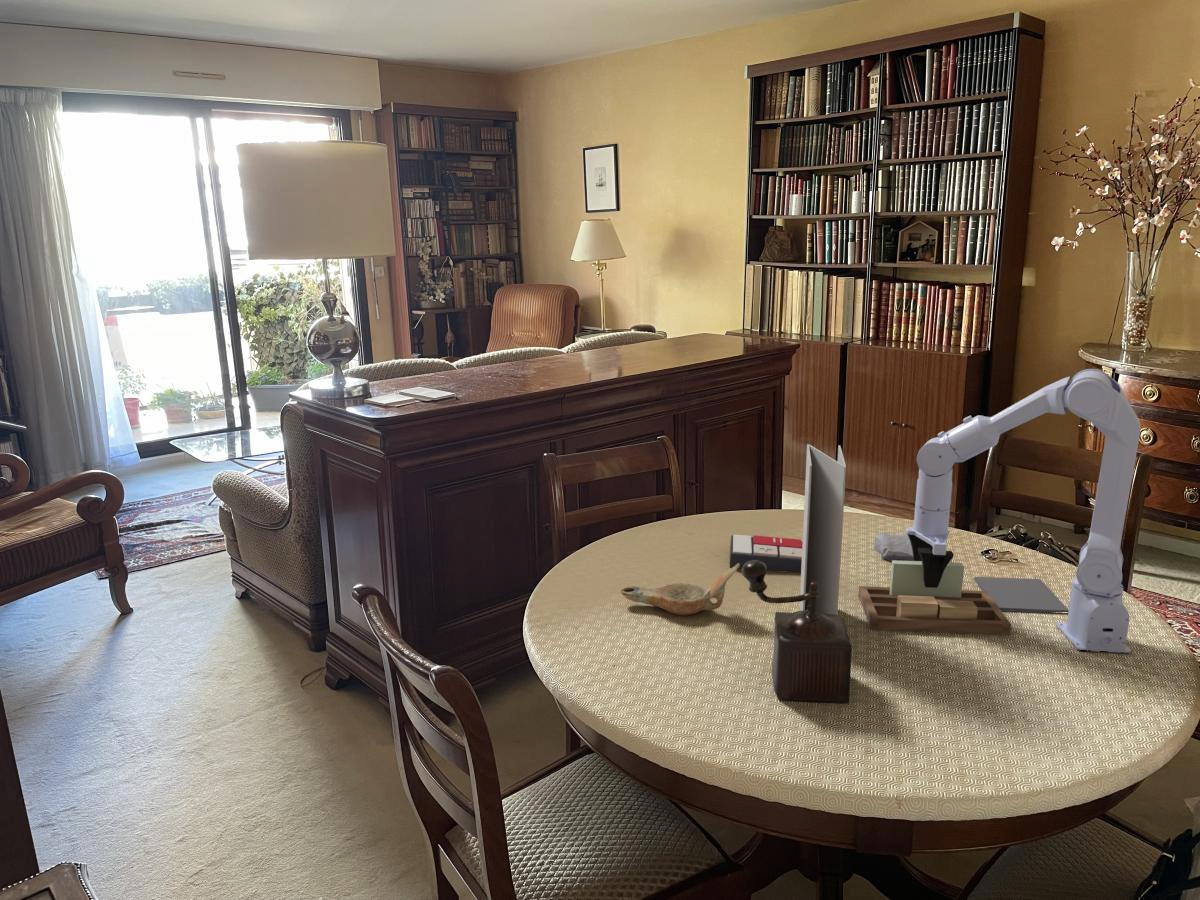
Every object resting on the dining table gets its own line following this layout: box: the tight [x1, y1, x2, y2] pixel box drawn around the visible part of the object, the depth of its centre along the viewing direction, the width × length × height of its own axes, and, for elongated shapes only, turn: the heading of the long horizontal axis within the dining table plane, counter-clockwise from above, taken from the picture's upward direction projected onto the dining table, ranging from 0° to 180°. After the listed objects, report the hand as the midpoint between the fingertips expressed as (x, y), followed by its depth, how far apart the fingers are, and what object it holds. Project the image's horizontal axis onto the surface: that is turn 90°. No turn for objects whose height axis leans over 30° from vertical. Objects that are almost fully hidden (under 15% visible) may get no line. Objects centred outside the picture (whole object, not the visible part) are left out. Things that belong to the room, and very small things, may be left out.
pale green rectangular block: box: [889, 560, 965, 598], centre depth 154 cm, size 2×12×8 cm, turn 82°
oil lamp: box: [620, 563, 740, 616], centre depth 153 cm, size 9×21×10 cm, turn 74°
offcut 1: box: [896, 595, 938, 618], centre depth 147 cm, size 3×6×4 cm, turn 83°
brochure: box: [799, 443, 847, 615], centre depth 144 cm, size 14×6×30 cm, turn 168°
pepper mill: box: [741, 560, 853, 704], centre depth 126 cm, size 16×11×18 cm
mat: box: [973, 576, 1069, 613], centre depth 157 cm, size 14×12×1 cm
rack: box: [858, 585, 1012, 636], centre depth 150 cm, size 14×22×2 cm, turn 82°
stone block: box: [873, 532, 914, 561], centre depth 177 cm, size 12×5×10 cm
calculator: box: [729, 534, 803, 573], centre depth 176 cm, size 11×4×15 cm
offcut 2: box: [936, 600, 978, 620], centre depth 146 cm, size 3×6×4 cm, turn 82°
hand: (926, 578), depth 153 cm, fingers open, 7 cm apart
